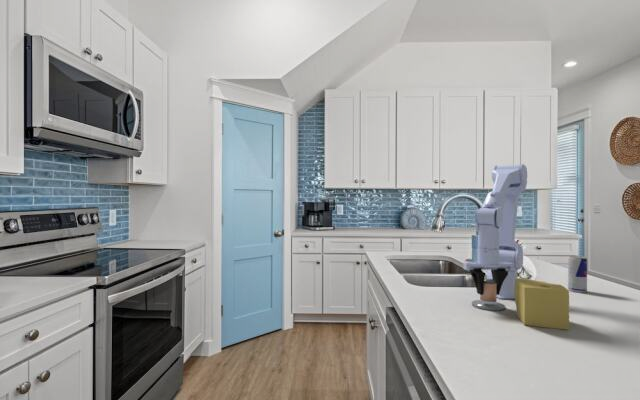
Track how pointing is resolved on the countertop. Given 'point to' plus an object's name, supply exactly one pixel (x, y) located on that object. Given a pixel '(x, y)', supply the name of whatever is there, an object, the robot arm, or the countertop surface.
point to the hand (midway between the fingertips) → (488, 293)
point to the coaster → (488, 305)
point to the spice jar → (489, 290)
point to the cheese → (542, 304)
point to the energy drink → (577, 274)
